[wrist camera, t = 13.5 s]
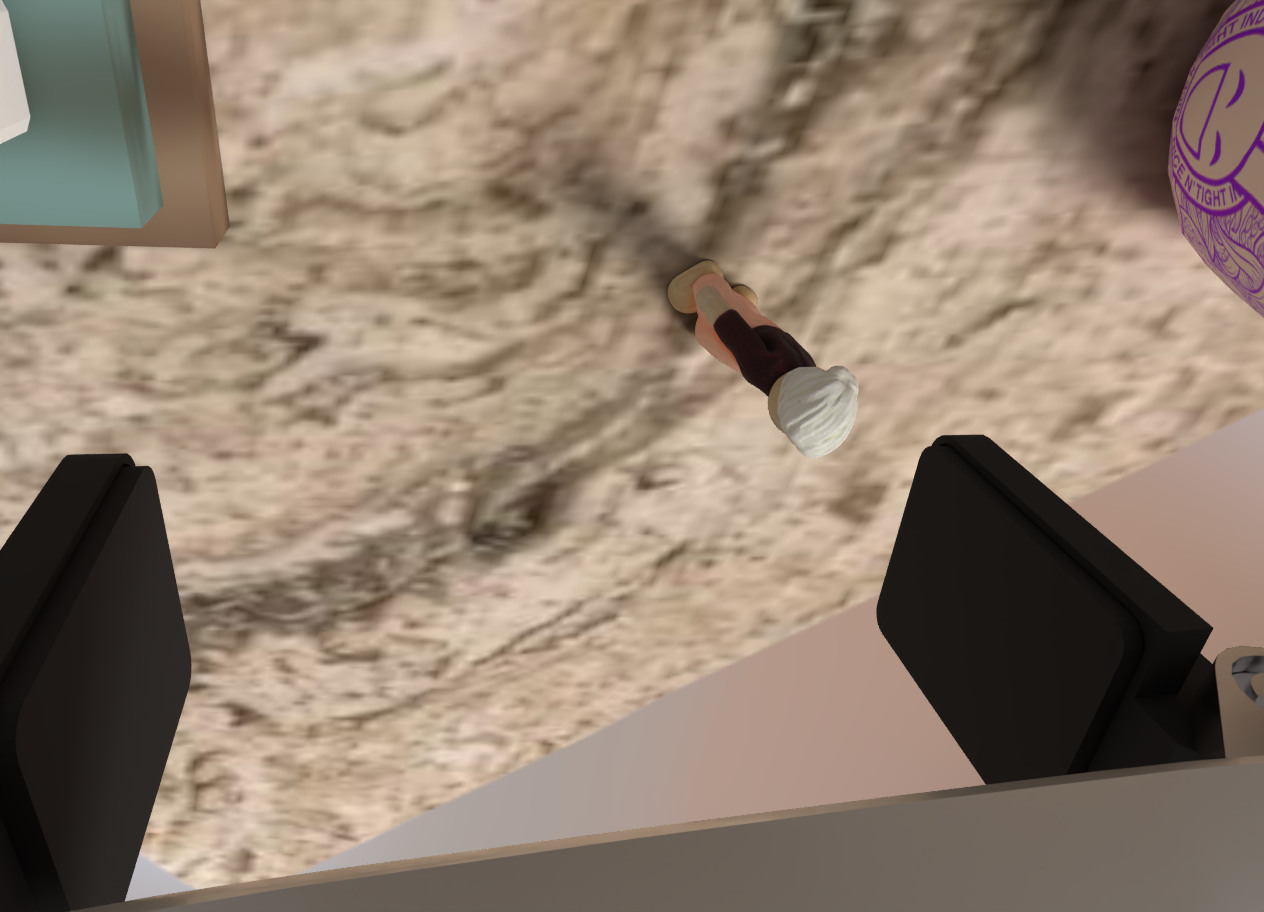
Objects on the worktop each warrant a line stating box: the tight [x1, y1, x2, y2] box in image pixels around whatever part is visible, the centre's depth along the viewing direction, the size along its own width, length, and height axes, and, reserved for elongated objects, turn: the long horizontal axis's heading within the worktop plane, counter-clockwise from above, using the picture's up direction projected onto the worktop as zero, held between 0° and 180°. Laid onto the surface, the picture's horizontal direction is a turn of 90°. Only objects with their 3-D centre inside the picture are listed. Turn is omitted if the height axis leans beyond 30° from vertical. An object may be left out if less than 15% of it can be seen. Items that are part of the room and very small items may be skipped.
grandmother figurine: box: [667, 261, 859, 458], centre depth 35 cm, size 8×4×13 cm, turn 61°
